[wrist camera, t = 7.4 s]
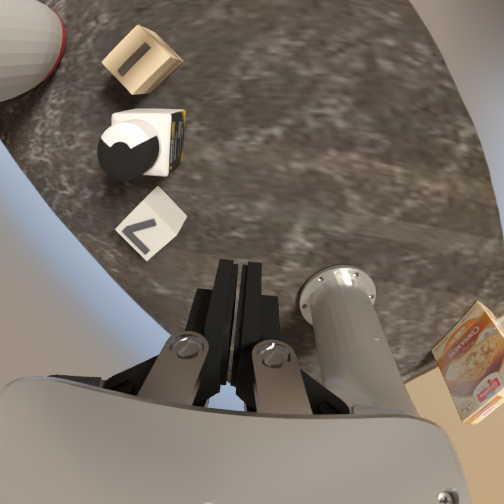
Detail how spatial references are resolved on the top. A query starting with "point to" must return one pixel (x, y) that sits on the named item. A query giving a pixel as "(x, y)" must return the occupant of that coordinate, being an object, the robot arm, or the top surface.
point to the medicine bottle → (142, 143)
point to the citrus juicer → (28, 45)
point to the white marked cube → (152, 224)
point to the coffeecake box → (473, 363)
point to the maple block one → (141, 61)
